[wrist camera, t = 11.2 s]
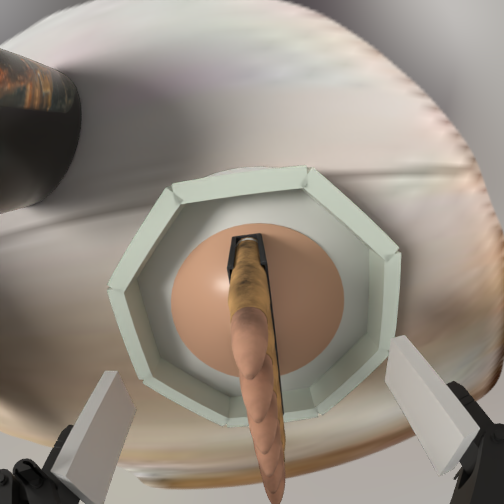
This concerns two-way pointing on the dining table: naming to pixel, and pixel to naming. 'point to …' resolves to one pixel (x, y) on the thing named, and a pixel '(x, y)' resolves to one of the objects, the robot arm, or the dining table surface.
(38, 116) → the jar
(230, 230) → the octagonal tray
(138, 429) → the dining table surface
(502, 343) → the dining table surface
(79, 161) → the dining table surface
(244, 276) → the ammunition clip
